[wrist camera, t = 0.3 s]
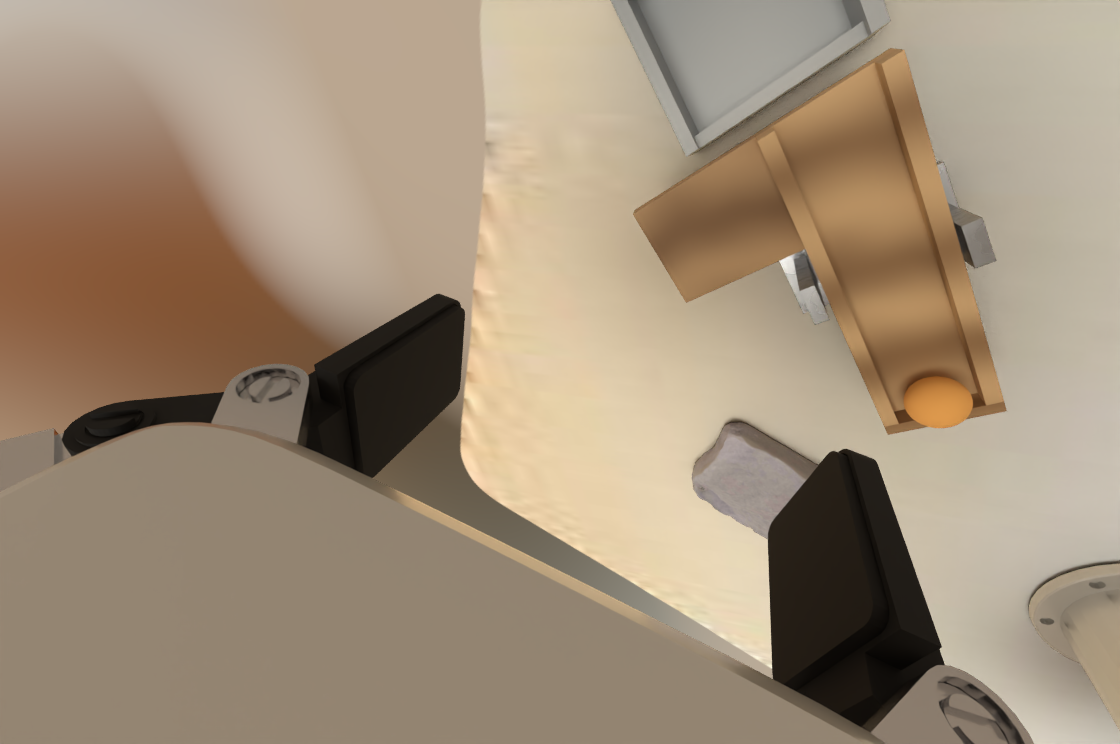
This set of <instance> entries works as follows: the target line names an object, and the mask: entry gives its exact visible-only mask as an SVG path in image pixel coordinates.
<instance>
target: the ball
mask: <svg viewBox="0 0 1120 744" xmlns="http://www.w3.org/2000/svg"><path fill="white" fill-rule="evenodd" d="M903 402H904V407H905V410H906V412H907V413H908V414H909V416H910V417H911V418H912V419H914V420H915V421H916V422H918V423H920V424H922V425H925V426H928V427H932V428H948V427H952V426H955V425H957V424H959V423H961V422H963V421H964V420H965V419H966V418H967V417H968V416H969V415H970V413H971V411H972V408H973V399H972V396H971V394H970V392H969V391H968V389H967V388H966V387H965V386H964V385H962V384H961V383H959V382H958V381H956V380H953V379H951V378H947V377H940V376H933V377H927V378H923V379H920V380H918V381H916V382H915V383H913V384H912V385H911V386H910V387H909V388H908V389H907V391H906V392H905V395H904V401H903Z"/></svg>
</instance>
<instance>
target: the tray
mask: <svg viewBox="0 0 1120 744" xmlns="http://www.w3.org/2000/svg"><path fill="white" fill-rule="evenodd" d="M611 2H612V4H613V6H614V8H615V11H616V13H617V15H618V17H619V19H620V21H621V23H622V25H623V27H624V29H625V31H626V33H627V35H628V37H629V39H630V42H631V44H632V46H633V48H634V50H635V52H636V54H637V56H638V58H639V60H640V62H641V64H642V66H643V68H644V70H645V72H646V75H647V77H648V79H649V81H650V83H651V85H652V87H653V89H654V91H655V93H656V95H657V97H658V99H659V101H660V103H661V106H662V108H663V110H664V112H665V114H666V116H667V118H668V120H669V122H670V124H671V126H672V128H673V130H674V132H675V134H676V137H677V139H678V141H679V143H680V145H681V147H682V149H683V151H684V153H685V155H686V157H687V156H689V155H692V154H694V153H696V152H698V151H699V150H701V149H702V148H704V147H705V146H707V145H708V144H710V143H711V142H713V141H714V140H716V139H717V138H719V137H720V136H722V135H723V134H725V133H726V132H728V131H730V130H731V129H733V128H734V127H736V126H737V125H739V124H740V123H742V122H743V121H745V120H746V119H748V118H749V117H751V116H752V115H754V114H755V113H757V112H758V111H760V110H761V109H763V108H764V107H766V106H767V105H769V104H770V103H772V102H773V101H775V100H776V99H778V98H779V97H781V96H783V95H784V94H786V93H787V92H789V91H790V90H792V89H793V88H795V87H796V86H798V85H799V84H801V83H802V82H804V81H805V80H807V79H808V78H810V77H811V76H813V75H814V74H816V73H817V72H819V71H820V70H822V69H823V68H825V67H826V66H828V65H829V64H831V63H832V62H834V61H835V60H837V59H839V58H840V57H842V56H843V55H845V54H846V53H848V52H849V51H851V50H852V49H854V48H855V47H857V46H858V45H860V44H861V43H863V42H864V41H866V40H867V39H869V38H870V37H872V36H873V35H874V34H876V33H877V32H878V31H879V30H880V29H882V28H883V27H884V26H885V25H886V24H888V23H889V22H890V21H891V20H890V17H889V14H888V11H887V8H886V6H885V3H884V0H611Z"/></svg>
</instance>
